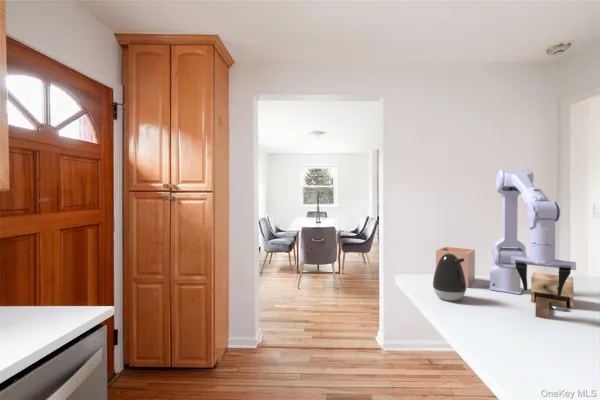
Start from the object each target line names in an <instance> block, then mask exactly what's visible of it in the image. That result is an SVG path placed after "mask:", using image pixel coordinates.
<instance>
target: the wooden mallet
mask: <svg viewBox="0 0 600 400" xmlns="http://www.w3.org/2000/svg"><path fill="white" fill-rule="evenodd" d="M550 304H559V305H563V306H566V307H567V302H566V301H559V300H553V299H547V298H541V297H536V298H535V313H534V314H535V318H540V319H545V320H549V319H550Z"/></svg>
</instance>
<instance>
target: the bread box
mask: <svg viewBox="0 0 600 400" xmlns="http://www.w3.org/2000/svg"><path fill="white" fill-rule="evenodd" d="M530 279H531V280H530V281H531V282H530V284H531V285H530V287H531V288H530V291H531V292H530V297H531V298H530V302H531V303H535V302H536V297H541V298H547V299H553V300H559V301H566V303H569V309H571V310H574V277H573V276H568V278H567V279H566V281H565V283H564V285H563V288H562V292H561V296H560V295H558V285H559V274H558V275H557V274H549V273H540V272H533V273H532V275H531V277H530Z"/></svg>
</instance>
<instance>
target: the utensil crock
mask: <svg viewBox="0 0 600 400" xmlns="http://www.w3.org/2000/svg"><path fill="white" fill-rule="evenodd" d="M447 253H450V254H453V255H455V256H456V257H457V258H458V259H461V258H463V259H464V261H463V262H461V266H462V268H463V271H464V275H465V280H466V289H468V288H470V287H471V286H472V285H473V284H474V283H476V281H475V279H476V277H475V276H476V272H475V271H476V250H475V248H463V247H451V246H443V247H441V248H438V249H436V250H435V268H436V267H437V264H438V262H439V260H440V258H441V257H442V256H443V255H444V254H447Z"/></svg>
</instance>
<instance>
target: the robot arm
mask: <svg viewBox="0 0 600 400" xmlns="http://www.w3.org/2000/svg"><path fill="white" fill-rule="evenodd" d="M495 179H496V180H495V186H496V187H495V188H496V193H498V194H501V238H499V239H498V240H496V241H495V242H494V243H493V244H492V250H491V260H492V263H493V264H491V265H490V269H489V290H491V291H497V292H501V293H502V292H503V293H509V294H510V293H511V294H514V295H516V294H517V295H521V294H522V291H527V290H528V266H536V267H537V266H538V267H547V268H555V269H556V268H557V269H558V275H559V285H558V295H560V296H561V292H562V288H563V285H564V283H565V281H566V279H567V278H568V277H570V275H571V273H572V272H571V271H577V262H576V261H567V260H562V259H561V260H560V259H556V225H557V224H556V222H558V221H559V219H560V216H561V207H560V205H559V203H558V201H557V200H552V199H551V200H550V199H548V197H547V195H545V193H544V192H543V190H542V189H540V188H539V187H538V186H536V187H535V185H534V184H533V183H534V173H533V171H532V170H531V169H530V168H527V169H499V170H498V171H497V174H496V178H495ZM519 196H520V200H521V201H522V203H523V204H524V206H525V208H526V217H527V223H528V227H529V228H530V229H529V230H530V232H529V256H527V251H526V245H525V244H524V243H522V242H521V241H519V240H518V206H519V205H518V202H519V201H518V197H519ZM521 283H522V287H523V288H522V287H521Z"/></svg>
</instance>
